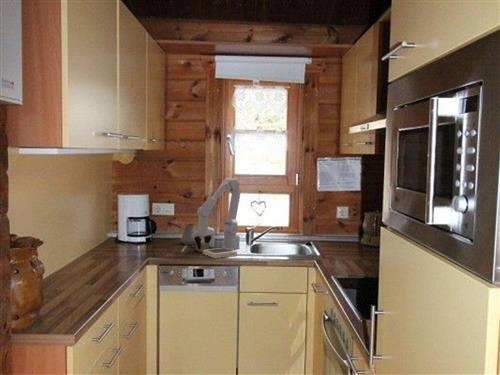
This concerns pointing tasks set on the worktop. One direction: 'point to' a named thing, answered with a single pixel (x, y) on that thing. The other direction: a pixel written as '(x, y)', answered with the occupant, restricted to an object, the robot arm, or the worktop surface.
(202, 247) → the housing
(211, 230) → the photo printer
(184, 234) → the coffee pot
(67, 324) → the worktop surface
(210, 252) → the stand
